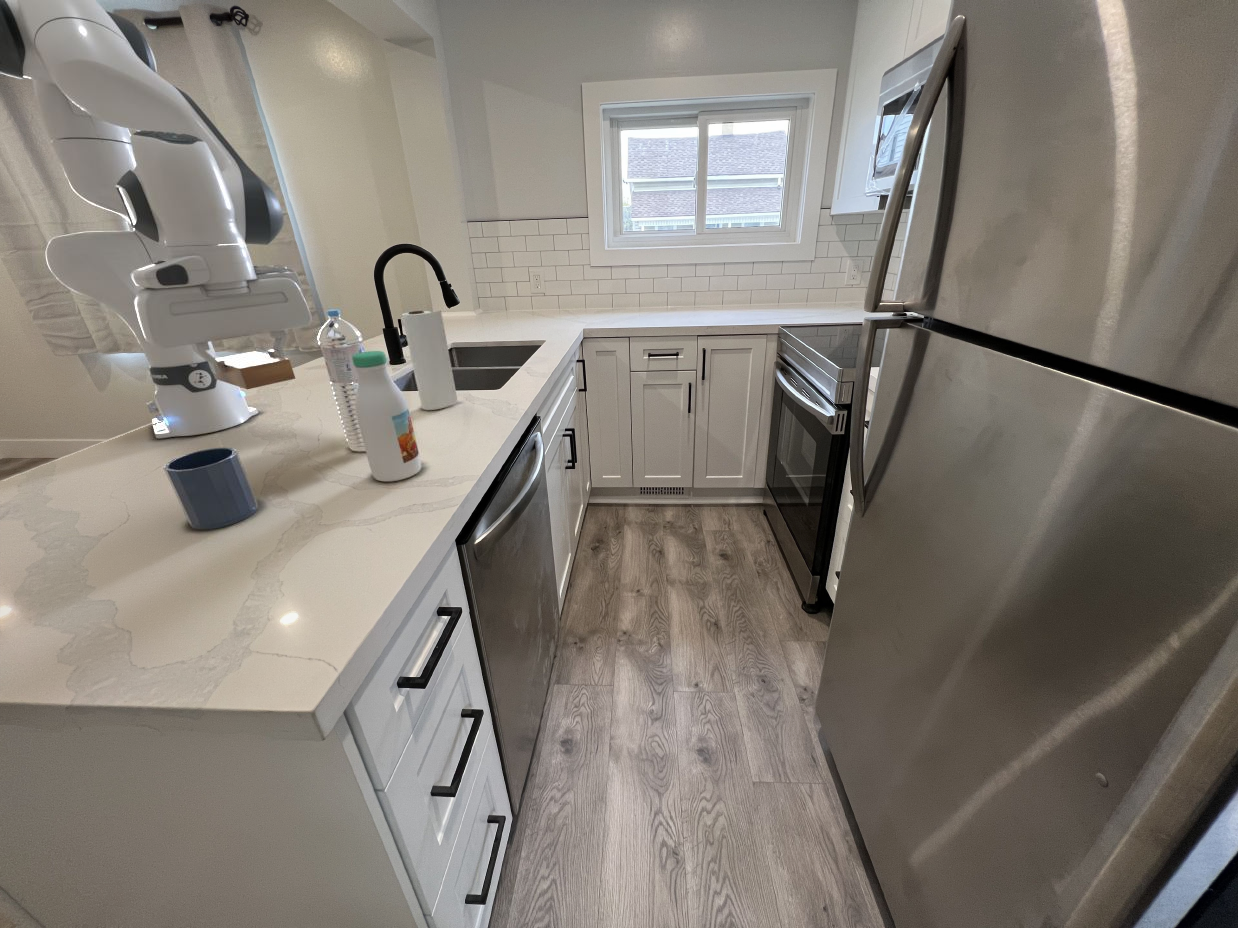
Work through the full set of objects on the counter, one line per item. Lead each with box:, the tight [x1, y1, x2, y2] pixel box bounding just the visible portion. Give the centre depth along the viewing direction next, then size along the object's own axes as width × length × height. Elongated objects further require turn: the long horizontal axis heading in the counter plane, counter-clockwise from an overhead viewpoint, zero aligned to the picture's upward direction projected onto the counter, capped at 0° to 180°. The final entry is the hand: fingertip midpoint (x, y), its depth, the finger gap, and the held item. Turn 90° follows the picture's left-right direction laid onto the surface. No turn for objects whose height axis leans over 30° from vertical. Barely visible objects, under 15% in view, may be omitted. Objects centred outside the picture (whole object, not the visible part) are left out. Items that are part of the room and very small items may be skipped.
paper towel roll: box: [401, 310, 459, 411], centre depth 111 cm, size 7×6×21 cm
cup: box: [163, 446, 259, 531], centre depth 70 cm, size 8×8×9 cm
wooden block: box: [213, 351, 296, 390], centre depth 75 cm, size 12×6×3 cm, turn 55°
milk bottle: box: [352, 350, 422, 482], centre depth 79 cm, size 8×8×20 cm
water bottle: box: [317, 309, 366, 453], centre depth 90 cm, size 7×7×25 cm
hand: (250, 367), depth 75 cm, fingers closed on wooden block, 6 cm apart
